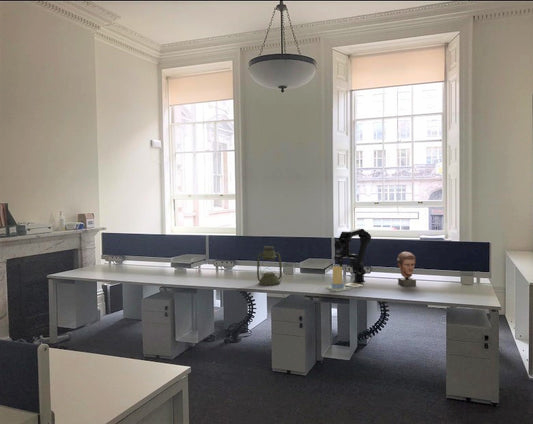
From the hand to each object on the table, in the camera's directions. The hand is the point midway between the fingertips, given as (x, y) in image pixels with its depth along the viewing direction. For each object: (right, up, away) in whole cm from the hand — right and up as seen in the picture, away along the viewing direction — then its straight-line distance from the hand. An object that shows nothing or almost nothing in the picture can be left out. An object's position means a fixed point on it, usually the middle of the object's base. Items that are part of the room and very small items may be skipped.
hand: (346, 268), depth 362 cm
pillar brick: (-9, -10, -13) cm, 18 cm away
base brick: (-8, -14, -13) cm, 21 cm away
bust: (+46, -13, -5) cm, 48 cm away
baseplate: (-8, -14, -13) cm, 21 cm away
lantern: (-59, -14, +11) cm, 61 cm away
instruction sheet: (+6, -13, -1) cm, 14 cm away
